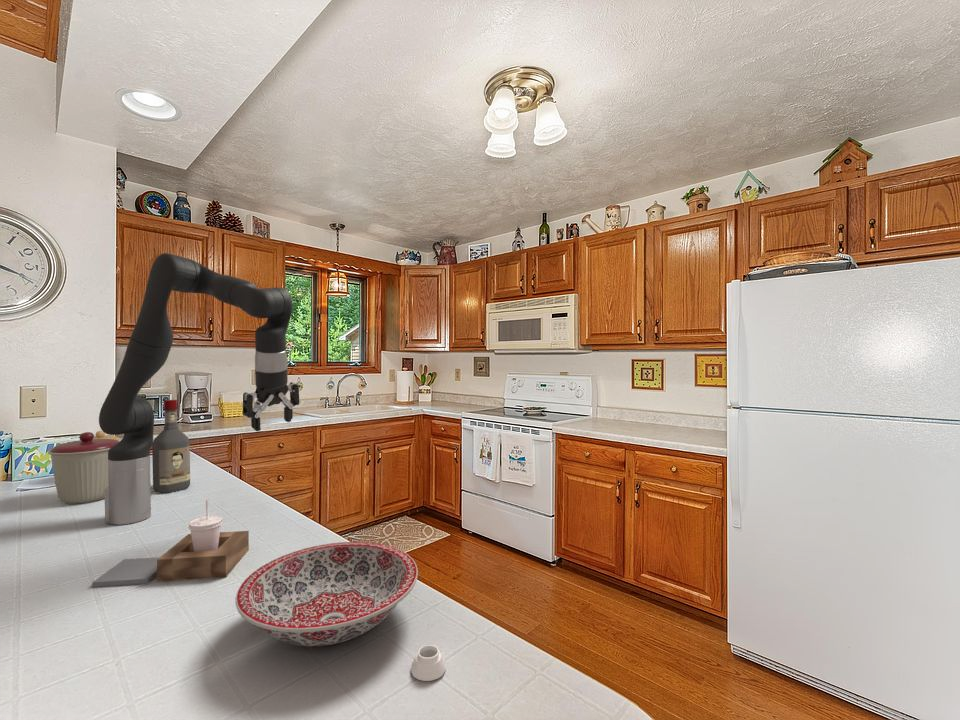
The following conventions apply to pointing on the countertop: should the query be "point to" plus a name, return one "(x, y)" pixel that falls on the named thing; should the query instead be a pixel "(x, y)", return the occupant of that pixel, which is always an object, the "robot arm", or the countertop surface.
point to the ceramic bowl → (326, 592)
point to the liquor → (171, 454)
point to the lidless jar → (428, 664)
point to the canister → (81, 468)
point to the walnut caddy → (202, 558)
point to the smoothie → (205, 531)
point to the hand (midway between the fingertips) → (272, 425)
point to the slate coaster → (129, 573)
